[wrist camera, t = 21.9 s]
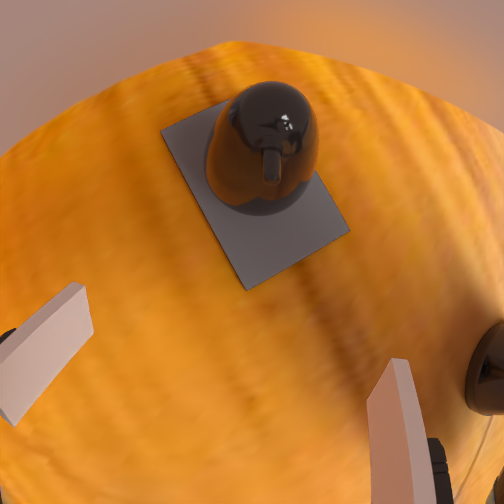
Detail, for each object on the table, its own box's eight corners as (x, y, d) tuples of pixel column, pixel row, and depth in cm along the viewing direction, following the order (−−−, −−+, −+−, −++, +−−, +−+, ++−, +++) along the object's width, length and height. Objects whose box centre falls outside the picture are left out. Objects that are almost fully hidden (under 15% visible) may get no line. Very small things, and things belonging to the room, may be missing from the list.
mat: (259, 91, 34) (260, 87, 33) (346, 232, 34) (350, 230, 33) (161, 134, 33) (160, 130, 32) (246, 290, 32) (247, 290, 31)
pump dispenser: (199, 220, 31) (181, 168, 16) (211, 130, 32) (209, 35, 17) (297, 230, 32) (360, 190, 17) (301, 141, 33) (351, 58, 18)
